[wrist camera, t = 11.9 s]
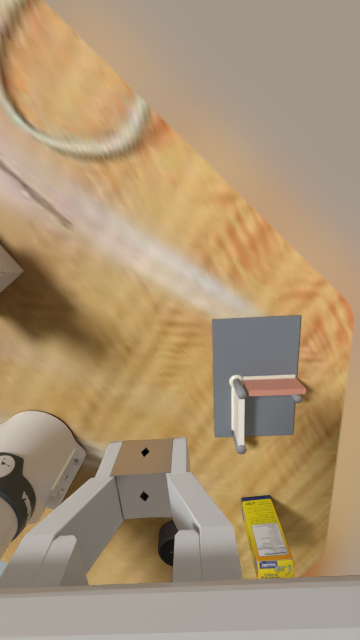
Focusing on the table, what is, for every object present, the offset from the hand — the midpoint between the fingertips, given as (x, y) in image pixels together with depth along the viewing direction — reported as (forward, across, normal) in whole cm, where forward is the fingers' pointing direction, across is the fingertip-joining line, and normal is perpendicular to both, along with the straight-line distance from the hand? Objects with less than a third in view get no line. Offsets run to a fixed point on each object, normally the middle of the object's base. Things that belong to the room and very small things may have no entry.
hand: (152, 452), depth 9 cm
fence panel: (+30, -15, +15) cm, 37 cm away
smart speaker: (+32, +4, +50) cm, 59 cm away
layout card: (+31, -12, +15) cm, 37 cm away
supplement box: (+31, -12, +44) cm, 55 cm away
